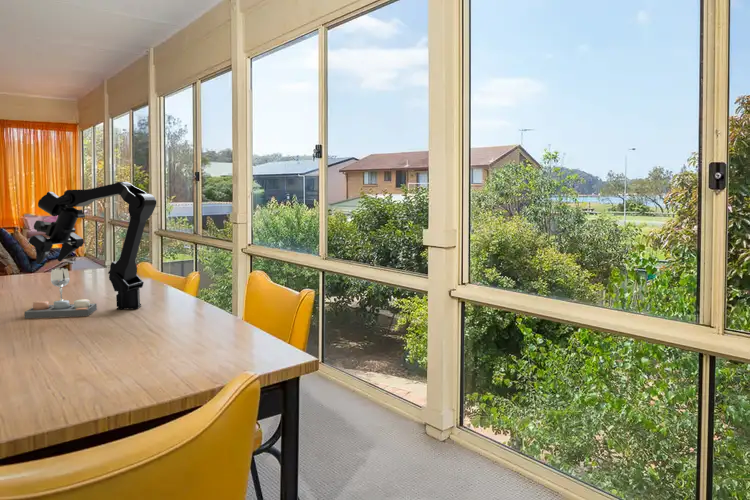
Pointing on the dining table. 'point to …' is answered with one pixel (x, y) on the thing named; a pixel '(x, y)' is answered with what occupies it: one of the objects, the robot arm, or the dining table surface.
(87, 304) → the cream button
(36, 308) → the terracotta button
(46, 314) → the button panel
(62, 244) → the robot arm
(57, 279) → the wineglass
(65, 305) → the slate button
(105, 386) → the dining table surface
